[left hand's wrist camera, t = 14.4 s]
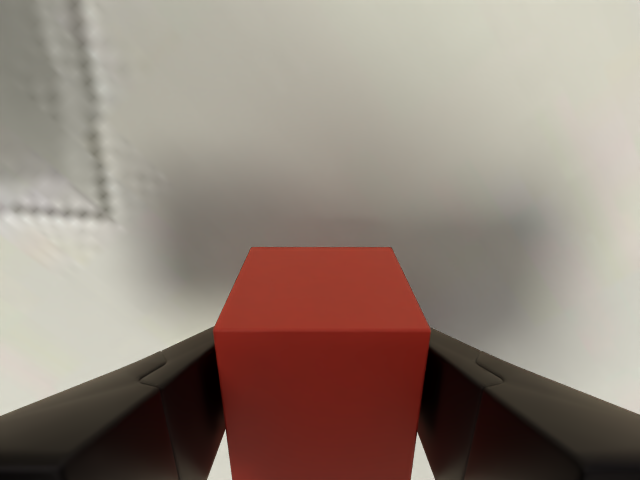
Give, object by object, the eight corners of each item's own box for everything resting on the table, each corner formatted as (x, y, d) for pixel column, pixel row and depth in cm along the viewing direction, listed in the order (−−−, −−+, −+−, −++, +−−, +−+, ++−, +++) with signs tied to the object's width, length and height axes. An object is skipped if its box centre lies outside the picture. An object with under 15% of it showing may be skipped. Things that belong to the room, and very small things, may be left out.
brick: (250, 246, 12) (211, 329, 7) (392, 246, 12) (432, 329, 7) (260, 368, 14) (232, 490, 9) (382, 368, 14) (410, 490, 9)
